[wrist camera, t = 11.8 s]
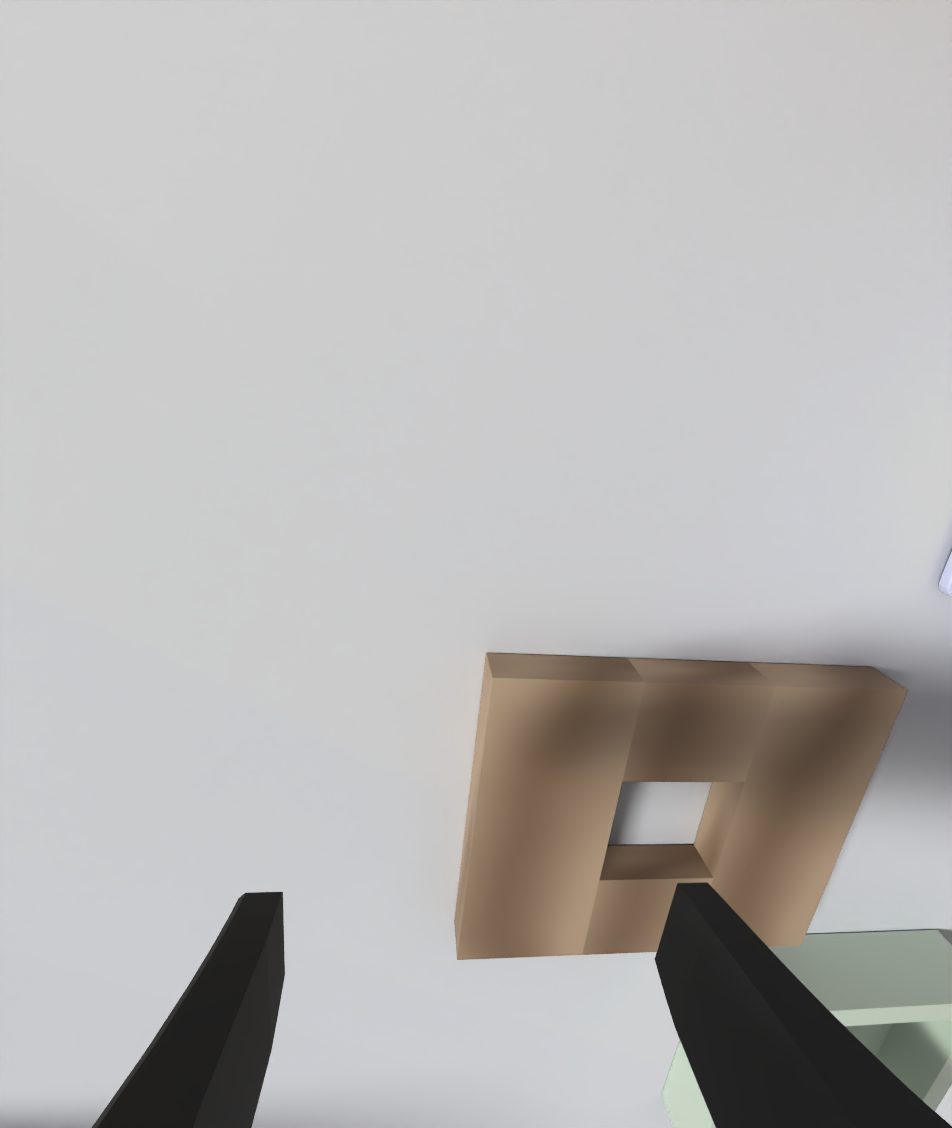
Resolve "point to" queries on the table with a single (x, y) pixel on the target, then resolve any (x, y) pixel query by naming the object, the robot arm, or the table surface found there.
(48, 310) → the table surface
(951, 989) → the tray
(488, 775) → the tan flat square frame
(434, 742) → the table surface
